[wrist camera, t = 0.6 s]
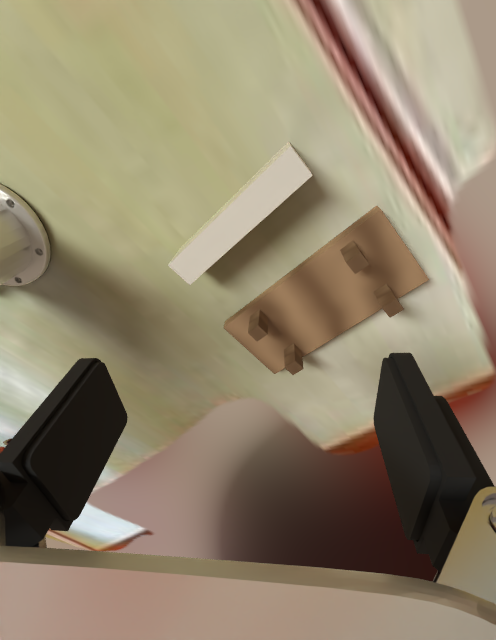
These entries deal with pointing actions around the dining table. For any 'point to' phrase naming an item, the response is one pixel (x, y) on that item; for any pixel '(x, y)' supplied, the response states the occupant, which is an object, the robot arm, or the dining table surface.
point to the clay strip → (241, 213)
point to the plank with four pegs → (328, 294)
